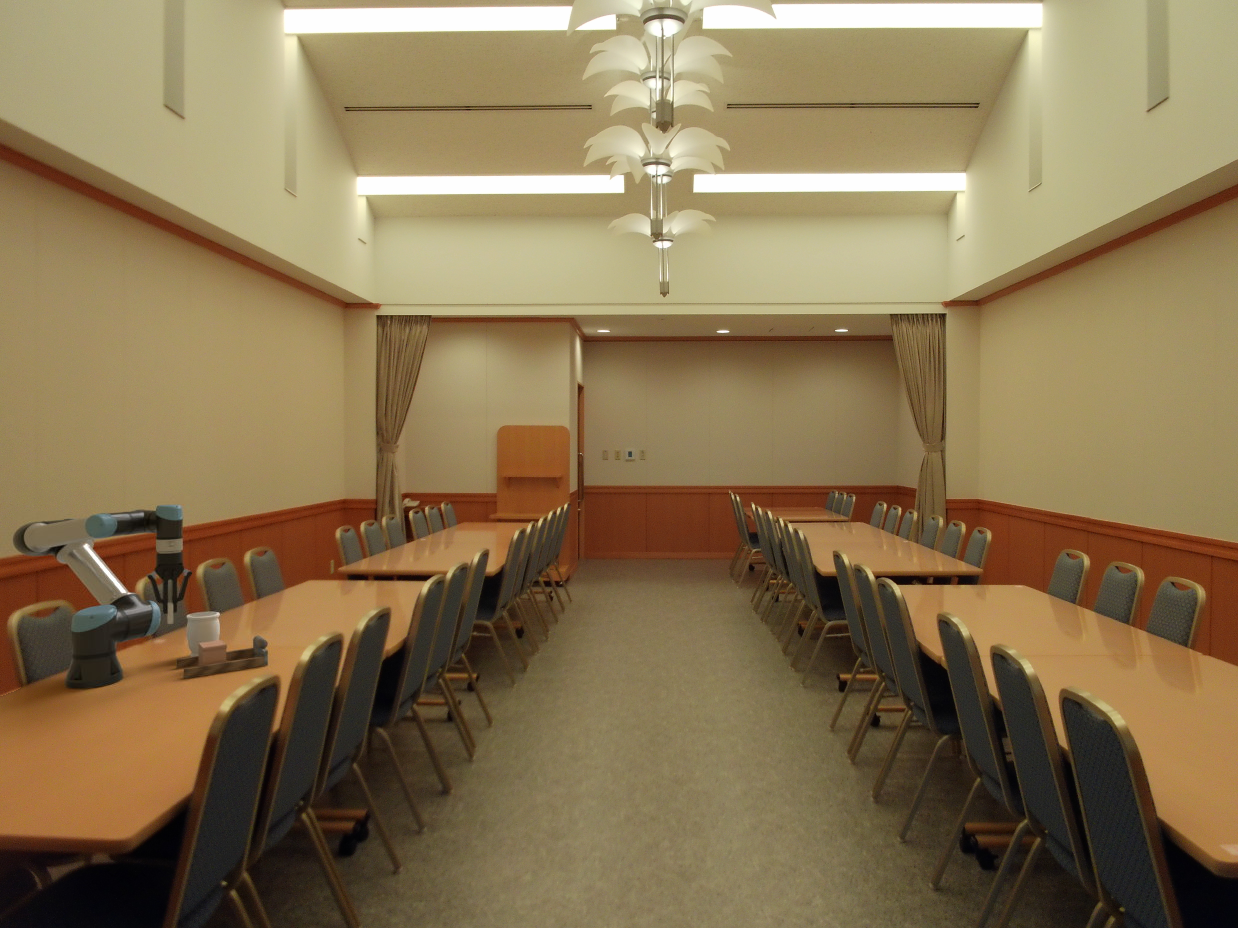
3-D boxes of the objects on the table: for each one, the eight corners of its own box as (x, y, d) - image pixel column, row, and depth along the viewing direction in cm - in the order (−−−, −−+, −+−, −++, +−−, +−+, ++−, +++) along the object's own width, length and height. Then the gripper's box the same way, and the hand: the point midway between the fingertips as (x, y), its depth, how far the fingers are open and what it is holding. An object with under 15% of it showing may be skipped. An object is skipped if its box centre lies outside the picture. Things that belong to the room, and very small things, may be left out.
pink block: (202, 671, 247) (202, 648, 247) (198, 666, 254) (198, 642, 254) (226, 668, 252) (226, 644, 251) (221, 662, 258) (221, 639, 258)
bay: (184, 678, 241) (184, 654, 241) (176, 667, 253) (176, 644, 253) (270, 664, 257) (270, 641, 257) (259, 654, 269) (259, 632, 269)
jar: (226, 652, 273) (226, 611, 272) (207, 659, 262) (207, 617, 262) (199, 651, 274) (198, 610, 273) (179, 658, 263) (179, 616, 263)
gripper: (147, 554, 237) (148, 627, 238) (194, 551, 245) (194, 622, 246) (144, 552, 243) (145, 623, 243) (190, 548, 251) (190, 618, 252)
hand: (170, 622), depth 245 cm, fingers closed
